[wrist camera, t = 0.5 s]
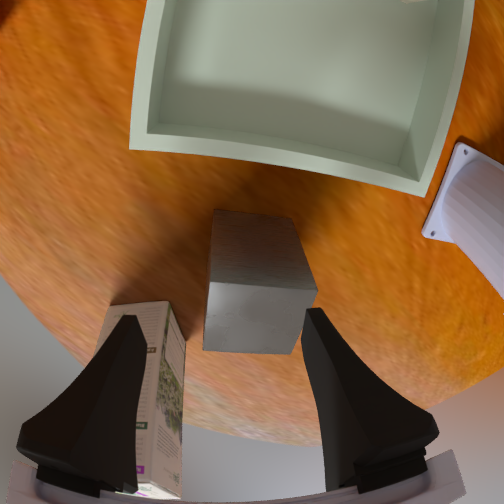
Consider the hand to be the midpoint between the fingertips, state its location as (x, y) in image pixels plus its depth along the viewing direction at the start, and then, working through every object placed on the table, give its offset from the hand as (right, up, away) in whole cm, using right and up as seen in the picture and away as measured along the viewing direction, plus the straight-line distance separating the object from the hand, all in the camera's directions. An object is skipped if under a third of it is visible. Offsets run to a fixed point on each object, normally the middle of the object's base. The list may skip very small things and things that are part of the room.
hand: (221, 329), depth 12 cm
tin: (+1, +4, +8) cm, 9 cm away
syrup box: (-7, -3, +12) cm, 15 cm away
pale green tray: (+5, +17, -1) cm, 18 cm away
